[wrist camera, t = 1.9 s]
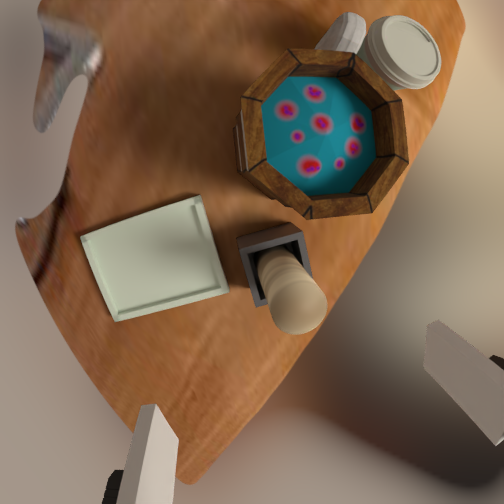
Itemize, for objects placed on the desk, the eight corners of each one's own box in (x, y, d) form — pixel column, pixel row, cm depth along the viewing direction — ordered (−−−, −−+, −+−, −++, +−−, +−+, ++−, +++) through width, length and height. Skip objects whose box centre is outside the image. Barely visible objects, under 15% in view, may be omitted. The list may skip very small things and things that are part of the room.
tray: (84, 234, 33) (79, 236, 32) (200, 194, 34) (199, 195, 32) (118, 317, 37) (115, 322, 35) (229, 287, 37) (229, 292, 36)
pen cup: (236, 237, 35) (238, 249, 30) (290, 222, 36) (302, 231, 30) (251, 288, 37) (255, 307, 32) (302, 273, 38) (315, 289, 32)
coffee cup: (400, 78, 32) (454, 56, 20) (370, 117, 33) (426, 102, 21) (354, 36, 30) (398, -2, 18) (320, 72, 31) (360, 36, 19)
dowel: (249, 245, 35) (265, 293, 22) (285, 235, 35) (322, 275, 22) (258, 279, 36) (278, 340, 23) (293, 269, 36) (330, 324, 23)
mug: (323, 215, 36) (383, 245, 21) (216, 183, 34) (211, 192, 19) (362, 76, 31) (430, 38, 17) (263, 38, 29) (288, -30, 15)
